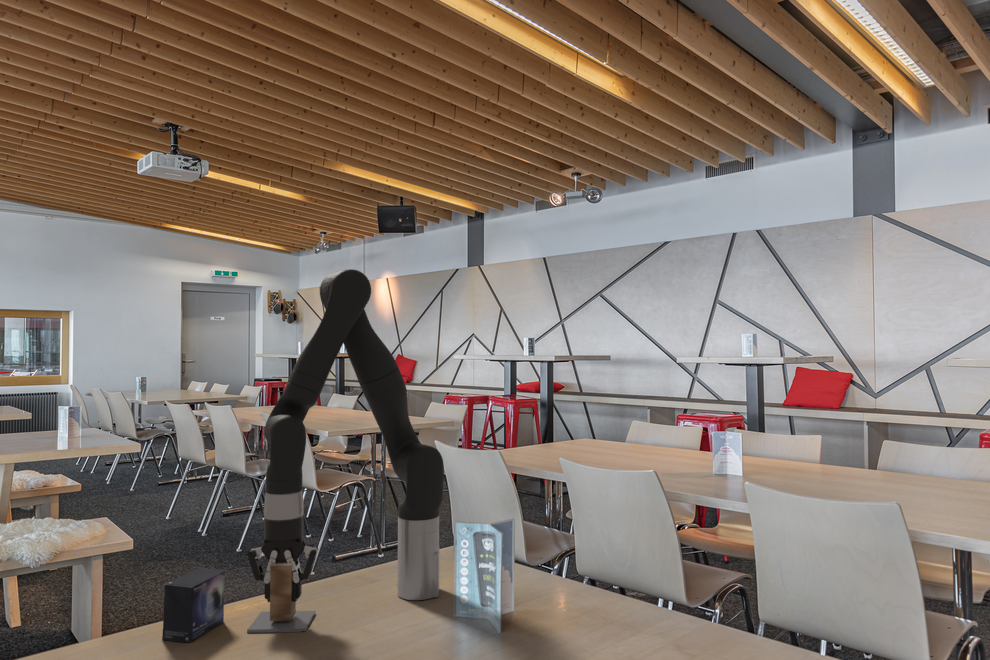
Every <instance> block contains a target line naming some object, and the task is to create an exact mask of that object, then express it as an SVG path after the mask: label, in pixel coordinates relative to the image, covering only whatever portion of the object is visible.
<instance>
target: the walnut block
mask: <svg viewBox="0 0 990 660" xmlns="http://www.w3.org/2000/svg"><path fill="white" fill-rule="evenodd" d="M291 567H292V563H275V564H270V602H269V612H270V621H291V619H292V618H293V616H294V614H295V613H296V611H297V610H296V608H297V607H296V605H297V601H296V602H292V583H293V582H294V581H293V578H292V571H291Z"/></svg>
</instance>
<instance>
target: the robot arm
mask: <svg viewBox="0 0 990 660" xmlns="http://www.w3.org/2000/svg"><path fill="white" fill-rule="evenodd" d="M371 295H372V285H371V283H370V280H369V278H368V276H366V275H365V273H364V272H362V271H361V270H358V269H352V268H351V269H348V268H347V269H343V270H339V271H335V272H331V273H330V274H328V275H326V276H325V277H324V278H323V279H322V281H321V283H320V286H319V296H320V302H321V303H322V306H323V307H324V309H325V311H324V314H323V316H322V319H321V321H320V323H319V325H318V327H317V329H316V330H315V332H314V334H313V336H312V337H311V339H309V341H308V343H307V344H306V346H305V347H304V349H303V350H302V352H301V354H300V355H299V357H298V358H297V360H296V363H295V364H294V367H293V369H292V371H291V373H290V375H289V378H288V380H287V382H286V384H285V387H284V389H283V392H282V394H281V395H280V397H279V399H278V400H277V402H276V403H275V405H274V407H273V409H272V410H271V411H270V413H269V416H268V418H267V420H266V423H265V426H264V431H263V432H264V433H263V434H264V437H265V438H264V439H265V440H266V441H267V443H268V444H269V446H270V448H269V449H270V450H269V464H268V466H267V467H266V472H265V496H264V504H263V507H264V508H263V542H262V545H261V546H259V547H253V548H251V549H250V550H249V551H248V552H247V558H248V560H249V561H248V562H249V565H250V568H251V570H252V571H251V572H252V575H253V578H254V580H255V581H262V582H263V583H264V599H265V600H267V603H270V564H275V563H292V567H291V571H292V578H293V581H294V582H293V583H292V602H296V603H297V601H298V600H299V599H300V597H302V596H301V595H302V590H303V589H302V588H303V587H302V585H303V583H302V582H303V581H304V580H308V579H309V577H310V576H311V574H312V572H313V568H314V566H315V563H316V559H317V556H318V553H319V547H318V546H314V547H312V546H307V545H306V543H305V540H304V496H303V495H304V494H303V464H304V459H305V453H306V444H307V430H306V426H305V424H304V420H305V418H306V416H307V414H308V412H309V411H310V409H311V408H312V407H314V406H315V404H316V403H317V402H318V400H319V398H320V395H321V394H322V391H323V388H324V386H325V385H326V381H327V379H328V377H329V374H330V372H331V369H332V367H333V365H334V363H335V360H336V359H337V356H338V355H339V353H340V351H341V348H342V347H343V346H344V349H345V350H346V353H347V356H348V359H349V361H350V364H351V365H352V366H351V367H352V368H353V371H354V373H355V376H356V379H357V382H358V384H359V386H360V388H361V391H362V392H363V395H364V398H365V400H366V402H367V404H368V406H369V408H370V411H371V413H372V415H373V417H374V420H375V423H376V424H377V425H378V428H379V430H380V432H381V435H382V438H383V440H384V444H385V446H386V450H387V452H388V457H389V461H390V464H391V466H392V470H393V472H394V474H395V476H397V478H399V480H401V481H402V482H404V483H406V486H405V487H406V489H405V498H404V500H403V501H400V502H399V504H398V506H397V585H396V586H397V596H398V597H400V598H401V599H403V600H408V601H422V600H428V599H429V600H431V599H433V598H439V595H440V508H441V506H442V503H443V498H444V478H445V467H444V459H443V456H442V454H441V452H440V451H439V450H438V449H437V448H436V447H434V446H432V445H428V444H422V443H421V441H420V440H419V438H418V436H417V434H416V432H415V429H414V428H413V425H412V423H411V419H410V415H409V409H408V407H409V406H408V403H409V402H408V390H407V385H406V382H405V380H404V377H403V375H402V373H401V372H402V371H400V368H399V365H398V363H397V361H396V359H395V357H394V356H393V354H392V352H391V351H390V349H389V348H388V347H387V346H386V344H385V343H384V342H383V341H382V340H381V338H380V337H379V335H378V334H377V333H376V331H375V330H374V329H373V327H372V325H371V322H370V320H369V318H368V316H367V312H366V310H365V308H366V306H367V304H368V303H369V301H370V299H371ZM302 553H305V554H304V555H305V558H306V559H307V560H306V564H305V567H304V570H303V571H302V569H301V564H300V560H299V558H300V557H301V555H302ZM262 554H263V555H262ZM262 556H264V557H265V558H266V560H267V561H268V564H267V566H266V568H265V569H266V570H265V571H264V568H263V563H262V562H261V558H262Z"/></svg>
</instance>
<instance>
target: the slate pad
mask: <svg viewBox="0 0 990 660" xmlns="http://www.w3.org/2000/svg"><path fill="white" fill-rule="evenodd" d="M313 616H316V610H296V613H295V614H294V616H293V618H292V619H291V621H270V611H261V612H260V613H258V615H257V617H256V618H254V620H253V622H252V623H251V624H250V625H249V627H248V628H247V629H246V633H247V634H250V633H251V634H257V633H300V632H301V631H305V632H306V631H307V629H308V627H309V626H308V625H310V624H311V622H312V620H313V619H312V618H314V617H313ZM301 633H302V632H301Z"/></svg>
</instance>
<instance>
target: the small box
mask: <svg viewBox="0 0 990 660" xmlns="http://www.w3.org/2000/svg"><path fill="white" fill-rule="evenodd" d="M225 574H226V570H223V569H214V568H206V567H198V568H196V569H194V570H191V571H190V572H186V573H185V574H183V575H181V576H178V577H176V578H175V579H173V580H171V581H168V582H166V583H164V586H163V587H164V591H163V619H162V620H163V621H162V637H161V639H162V641H170V642H179V643H186V644H187V643H189V644H191V643H192V642H194V641H195V640H197V639H199V638H200V637H202V636H204V635H205V634H206V633H208V632H210V631H211V630H213V629H214V628H217V627H218V626H219V625H221V624H222V623H224V615H225V614H224V613H225V609H224V608H225V584H226V583H225V580H226V578H225V577H226V575H225Z"/></svg>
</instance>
